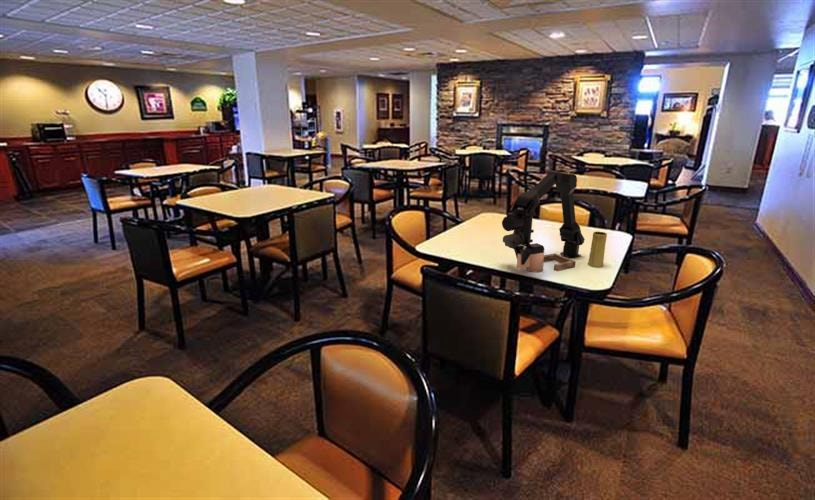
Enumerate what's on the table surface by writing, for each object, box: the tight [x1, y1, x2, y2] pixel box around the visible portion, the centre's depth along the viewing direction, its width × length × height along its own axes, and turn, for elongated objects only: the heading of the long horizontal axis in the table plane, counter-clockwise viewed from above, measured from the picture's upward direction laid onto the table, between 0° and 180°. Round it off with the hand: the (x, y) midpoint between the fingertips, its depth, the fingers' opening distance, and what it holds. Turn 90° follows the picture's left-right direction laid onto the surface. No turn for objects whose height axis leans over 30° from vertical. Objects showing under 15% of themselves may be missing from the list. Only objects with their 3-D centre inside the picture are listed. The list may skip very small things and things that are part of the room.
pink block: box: [516, 248, 545, 273], centre depth 179 cm, size 12×7×9 cm, turn 116°
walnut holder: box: [543, 253, 576, 272], centre depth 186 cm, size 10×12×2 cm
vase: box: [587, 231, 608, 268], centre depth 184 cm, size 6×6×14 cm
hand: (520, 263), depth 177 cm, fingers closed on pink block
